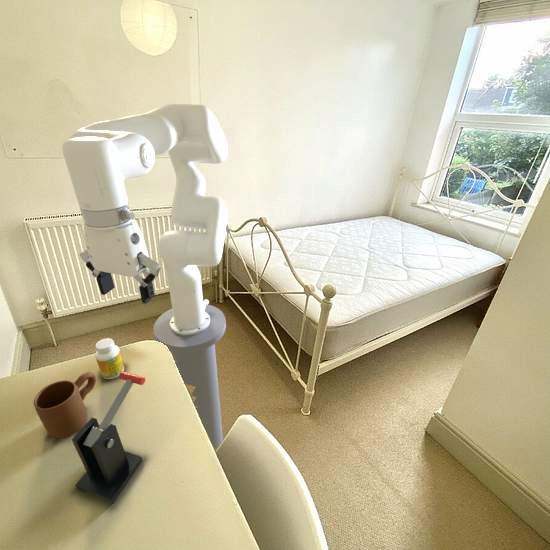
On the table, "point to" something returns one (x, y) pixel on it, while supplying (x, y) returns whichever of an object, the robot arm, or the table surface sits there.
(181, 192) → the robot arm
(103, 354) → the supplement bottle
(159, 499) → the table surface
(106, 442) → the bracket
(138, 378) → the lever
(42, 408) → the mug
